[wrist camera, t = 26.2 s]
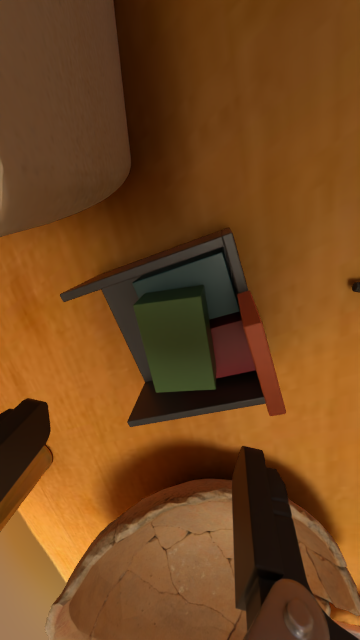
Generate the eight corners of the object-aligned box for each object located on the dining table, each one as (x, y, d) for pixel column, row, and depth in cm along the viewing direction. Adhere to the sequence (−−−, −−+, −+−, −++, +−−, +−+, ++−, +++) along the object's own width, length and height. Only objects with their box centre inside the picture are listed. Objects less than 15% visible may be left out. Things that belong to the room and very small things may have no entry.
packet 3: (239, 307, 21) (242, 320, 19) (253, 352, 23) (257, 370, 20) (163, 328, 23) (156, 342, 21) (180, 369, 24) (175, 387, 22)
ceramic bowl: (399, 507, 25) (547, 844, 13) (285, 573, 40) (303, 757, 28) (114, 416, 28) (7, 626, 15) (109, 511, 43) (53, 655, 30)
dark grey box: (230, 226, 20) (239, 239, 10) (266, 357, 23) (300, 465, 13) (98, 275, 23) (0, 323, 13) (148, 383, 26) (104, 486, 16)
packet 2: (144, 293, 19) (132, 305, 16) (203, 284, 18) (200, 296, 16) (163, 371, 22) (155, 393, 19) (216, 367, 21) (215, 389, 18)
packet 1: (222, 246, 20) (222, 251, 17) (238, 299, 21) (240, 311, 18) (142, 274, 21) (131, 283, 19) (161, 321, 23) (153, 335, 20)
